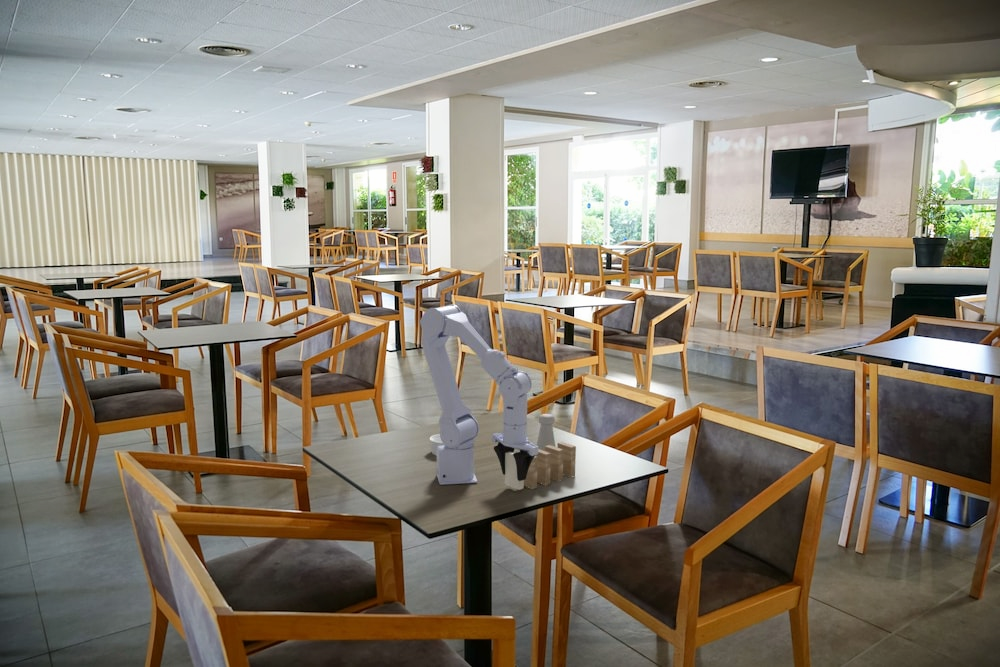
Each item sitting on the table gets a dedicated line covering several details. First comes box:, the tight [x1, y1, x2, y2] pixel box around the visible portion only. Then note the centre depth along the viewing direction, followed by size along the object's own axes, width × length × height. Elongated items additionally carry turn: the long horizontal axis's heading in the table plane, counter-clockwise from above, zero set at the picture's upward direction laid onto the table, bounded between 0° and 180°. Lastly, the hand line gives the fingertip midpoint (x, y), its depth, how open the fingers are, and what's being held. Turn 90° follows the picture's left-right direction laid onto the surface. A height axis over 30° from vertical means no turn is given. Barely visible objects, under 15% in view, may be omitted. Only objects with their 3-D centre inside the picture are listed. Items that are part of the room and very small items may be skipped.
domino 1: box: [524, 456, 538, 490], centre depth 190 cm, size 2×5×8 cm, turn 41°
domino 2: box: [535, 449, 551, 486], centre depth 193 cm, size 2×5×8 cm, turn 41°
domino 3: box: [545, 445, 564, 482], centre depth 196 cm, size 2×5×8 cm, turn 41°
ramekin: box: [429, 433, 444, 457], centre depth 216 cm, size 9×9×4 cm
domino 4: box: [557, 441, 577, 478], centre depth 199 cm, size 2×5×8 cm, turn 41°
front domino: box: [504, 452, 524, 491], centre depth 187 cm, size 2×5×8 cm, turn 41°
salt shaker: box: [535, 413, 556, 451], centre depth 209 cm, size 6×6×13 cm
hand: (514, 476), depth 187 cm, fingers closed on front domino, 5 cm apart
